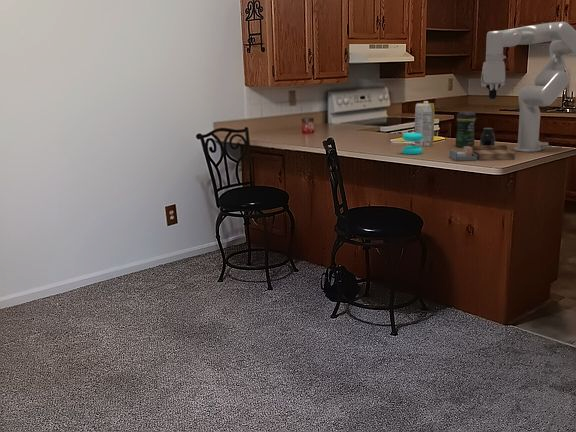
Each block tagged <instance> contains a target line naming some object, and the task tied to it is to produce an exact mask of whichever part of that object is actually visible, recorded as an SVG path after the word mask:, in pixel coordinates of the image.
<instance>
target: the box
mask: <svg viewBox="0 0 576 432" xmlns="http://www.w3.org/2000/svg"><path fill="white" fill-rule="evenodd" d="M457 152H458V151H456V150H453V149H452V148H449V158H450V159H452V160H453V161H455V162H472V161H473V162H474V161H475V162H477V161H478V159H477V155H476V154H474V153H472V156H465V157H457Z"/></svg>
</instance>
